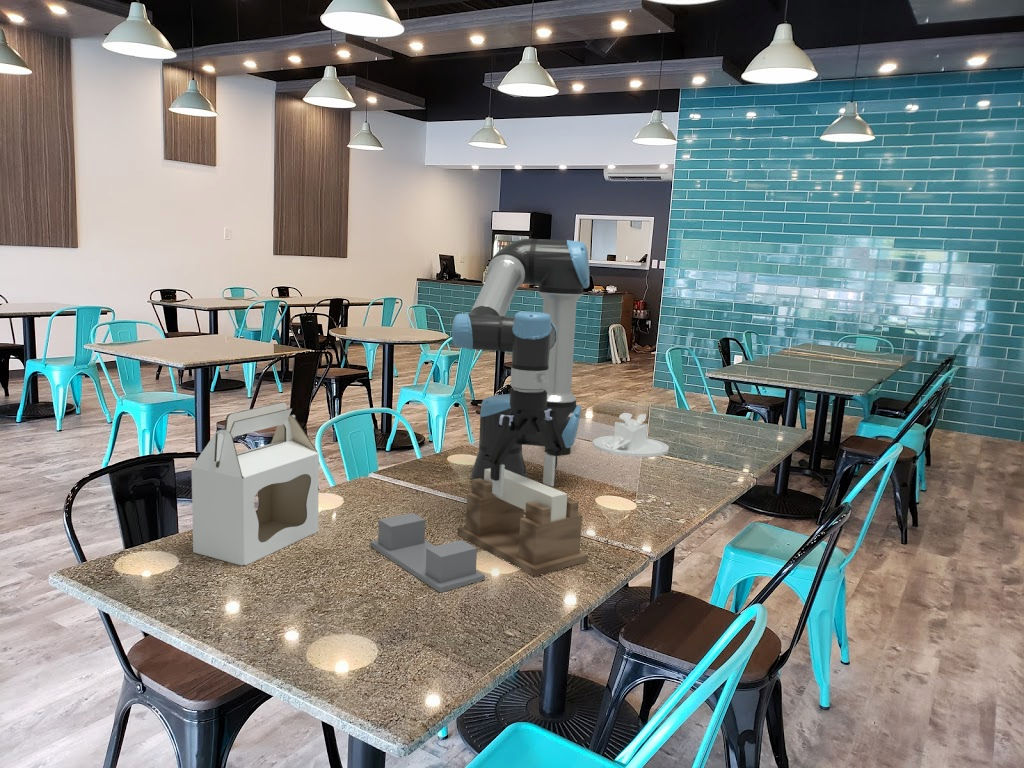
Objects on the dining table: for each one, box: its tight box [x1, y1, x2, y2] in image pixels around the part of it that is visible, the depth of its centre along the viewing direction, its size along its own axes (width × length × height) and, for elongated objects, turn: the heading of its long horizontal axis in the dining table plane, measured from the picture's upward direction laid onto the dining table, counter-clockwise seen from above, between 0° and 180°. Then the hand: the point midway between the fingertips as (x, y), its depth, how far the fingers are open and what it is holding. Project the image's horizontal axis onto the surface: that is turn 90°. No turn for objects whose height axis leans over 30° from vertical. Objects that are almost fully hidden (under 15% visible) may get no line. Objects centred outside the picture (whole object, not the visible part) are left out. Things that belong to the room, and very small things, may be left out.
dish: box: [591, 412, 670, 458], centre depth 250 cm, size 25×25×11 cm
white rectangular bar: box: [484, 468, 568, 522], centre depth 158 cm, size 22×4×5 cm, turn 39°
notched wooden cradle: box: [457, 478, 589, 577], centre depth 159 cm, size 26×14×12 cm, turn 39°
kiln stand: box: [369, 512, 486, 593], centre depth 149 cm, size 26×10×6 cm, turn 39°
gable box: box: [191, 401, 320, 567], centre depth 154 cm, size 22×13×28 cm, turn 155°
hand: (523, 489), depth 158 cm, fingers open, 13 cm apart
